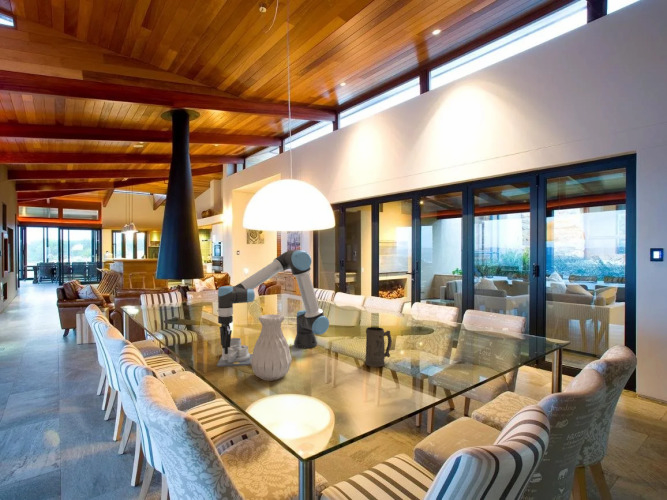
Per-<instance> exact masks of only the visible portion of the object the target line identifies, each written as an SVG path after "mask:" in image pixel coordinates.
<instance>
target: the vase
mask: <svg viewBox="0 0 667 500" xmlns="http://www.w3.org/2000/svg"><path fill="white" fill-rule="evenodd" d="M284 320H285V317H284V315H282V314H264V315H260V316H259V317H258V321H259V322H260V324H261V330H260V334H259V336H258V338H257V340H256V342H255V345H254V347H253V350H252V354H253V356H252V359H251V365H250V366H251V368H252V371H253V373H254V375H255V376H256V377H258V378H260V380H261V379H262V380H263V381H268V382H269V381H277V380H280V379H281V378H282V379H283V377H284V376H286V375H287V374H288V373H289V371H290V368H291V364H292V361H293V359H292V355H291V352H290V351H291V350H290V346H289V344H288V342H287V339H286V337H285V336H284V333H283V330H282V323H283V322H284Z"/></svg>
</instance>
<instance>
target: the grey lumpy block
mask: <svg viewBox="0 0 667 500" xmlns="http://www.w3.org/2000/svg"><path fill="white" fill-rule="evenodd" d="M235 347H242V348H240V349H237V351H235V349H234V348H235ZM248 353H249V345H246V344H241V346H239V345H233V346H230V348H229V347H228V362H233V361H234V360H235V359H236V358H237V357H241V356H245V355H247V354H248Z"/></svg>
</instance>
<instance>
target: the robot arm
mask: <svg viewBox="0 0 667 500" xmlns="http://www.w3.org/2000/svg"><path fill="white" fill-rule="evenodd" d="M312 263H313V262H312V257H311V255H310V253H308V252H307V251H305V250H302V249H291V250H287V251H285V252H283V253H282V254H279V256H276V257H275V258H274V259H273V261H272V262H270V263H269V264H267V265H265V267H263V268H261V269H259V270H258V271H257V272H254V273H253V274H251V275H250V276H249V277H247V278H246V279H244V280H243V281H241V282H239V283H238V284H236V285H234V286H233V285H231V286H230V285H224V286H220V287H218V291H217V311H216V312H217V314H218V316H217V323H218V324H220V326H219V333H220V334H219V335H220V346H221V347H222V348H221V349H222V355H223V360H228V348H229V347H230V341H231V338H232V332H233V331H232V329H231V326H230V324H233V320H234V319H233V318H234V316H233V313H234V307H233V305H234V304H246V303H247V304H248V303H253V302H254V300H255V297H256V295H255V291H254V289H256V288H258V287H259V286H260V285H262V284H263V283H265V282H267V281H269V280H270V279H271V278H273V277H275V276H277V275H278V274H279V273H283V272H285V271H286V270H290V271H291V274H292V276H294V277H295V279H296V282H297V286H298V289H299V293H300V296H301V299H302V303H303V306H304V310H298V311H297V312H296V335H295V338H294V340H293V347H295V348H297V349H312V348H315V347H318V341H317V337H316V335H324V334H325V333H326V332H327V331H328V329H329V327H330V321H329V318H328V317H326V316H325V314H324V311H323V309H321V308H320V306H319V302H318V299H317V296H316V291H315V288H314V285H313V282H312V278H311V274H310V272H311V265H312Z"/></svg>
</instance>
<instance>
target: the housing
mask: <svg viewBox="0 0 667 500" xmlns="http://www.w3.org/2000/svg"><path fill="white" fill-rule="evenodd" d="M240 348H242V347H235V348H234V349H235V351H237V349H240ZM252 356H253V353H250V352H248V354H247V355H245V356H241V357H237V358H236V359H235V360H234V361H233V362H228V360H223V354H222V355H221V357H220V359H219V360H218V362H217V364H216V367H217V368H220V367H224V368H225V367H241V366H242V367H245V366H246V367H247V366H252V365H251V359H252Z"/></svg>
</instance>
